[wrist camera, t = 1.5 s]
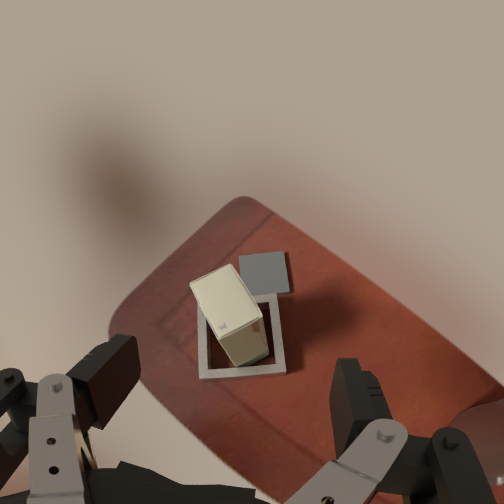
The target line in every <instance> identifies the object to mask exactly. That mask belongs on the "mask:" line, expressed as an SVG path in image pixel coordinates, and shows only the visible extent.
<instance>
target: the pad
mask: <svg viewBox="0 0 504 504" xmlns="http://www.w3.org/2000/svg"><path fill="white" fill-rule="evenodd" d="M239 265H240V278H241V279H242V281H243V282H244V284H245V286H246V287H247V289H248V290H249V292H250V294H251V295H252V296H255V295H264V294H273V293H277V295H281V294H289V293H290V289H289V282H288V276H287V269H286V263H285V257H284V251H279V252H270V253H261V254H252V255H243V256H239Z"/></svg>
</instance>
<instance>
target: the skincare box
mask: <svg viewBox="0 0 504 504" xmlns="http://www.w3.org/2000/svg"><path fill="white" fill-rule="evenodd" d="M190 287H191V289H192V291H193V293H194V295H195V297H196V299H197V301H198V303H199V305H200V307H201V309H202V311H203V313H204V315H205V317H206V319H207V321H208V323H209V325H210V326H211V328H212V330H213V332H214V334H215V336H216V338H217V339H218V341H219V343H220V344H221V346H222V347H223V349H224V350H225V352H226V353H227V355H228V356H229V358H230V359H231V361H232V362H233V364H234V365H235V367H236V368H239V367H247V366H249V365H251V364H253V363H255V362H257V361H259V360H260V359H262V358H264V357H265V356H267V355H269V350H268V344H267V339H266V333H265V328H264V322H263V315H262V313H261V311H260V309H259V307H258V305H257V304H256V302H255V300H254V298H253V297H252V295H251V294H250V292H249V290H248V289H247V287H246V286H245V284H244V282H243V281H242V279H241V278H240V276H239V275H238V273H237V272H236V270H235V269H234V268H233V266H232V265H231V264H228V265H226V266H224V267H222V268H219V269H217V270H215V271H213V272H211V273H209V274H207V275H204V276H202V277H200V278H198V279H196V280H194V281H192V282H191V283H190Z"/></svg>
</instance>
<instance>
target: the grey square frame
mask: <svg viewBox="0 0 504 504" xmlns="http://www.w3.org/2000/svg"><path fill="white" fill-rule="evenodd" d="M252 297H253V298H254V300H255V302H256V304H257V305H258V307H259V309H260V310H263V309H270V317H271V326H272V335H273V344H274V353H275V362H276V364H271V365H261V366H251V367H239V368H226V369H212V368H211V345H210V325H209V323H208V321H207V319H206V317H205V315H204V313H203V311H202V309H201V307H200V305H199V303H198V355H199V379H200V380H202V381H203V382H210V381H227V380H240V379H252V378H263V377H272V376H281V375H286V365H285V357H284V349H283V340H282V332H281V324H280V316H279V309H278V301H277V293H273V294H264V295H255V296H252Z"/></svg>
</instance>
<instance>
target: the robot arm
mask: <svg viewBox="0 0 504 504" xmlns="http://www.w3.org/2000/svg"><path fill="white" fill-rule="evenodd" d="M140 373H141V367H140V360H139V353H138V346H137V340H136V338H135V337H134V336H130V335H125V334H120V333H117V334H116V335H115V336H113V337H112V338H111V339H110V340H109V341H108V342H105V343H103V344H100V345H98V346H96V347H95V348H94V349H93V350H91V351H90V352H89V354H87V355H86V356H85V357H84V358H83V359H82V360H81V361H79V362H78V363H77V364H76V365H75V366H74V367H73V368H72V369H71V370H70V371H69V372H68V373H67V374H66V375H63V374H51V375H48V376H46V377H44V378H43V379H42V380H40V382H39V383H33V382H26V381H25V379H24V376H23V374H22V372H21V371H20V370H18V369H15V368H7V369H4V370H1V371H0V417H1V416H2V415H3V414H4V413H5V412H6V411H7V413H8V415H9V417H10V419H11V421H10V423H9V424H8V425H7V426H6V427H5V428H4V429H3V430H2V431H1V432H0V490H1V489H2V488H3V486H4V485H5V484H6V482H7V481H8V479H9V478H10V477H11V475H12V474H13V473H14V471H15V470H16V469H17V467H18V466H19V465H20V463H21V462H22V461H23V460H24V458H25V457H26V456H27V454H28V453H29V477H30V490H27V491H24V492H20V493H16V494H12V495H8V496H4V497H0V504H270V503H268V502H265V501H263V500H260V499H257V498H255V491H256V489H250V488H241V487H233V486H225V485H182V484H179V483H177V482H175V481H172V480H170V479H168V478H166V477H164V476H162V475H160V474H158V473H156V472H154V471H152V470H150V469H146V468H143V467H139V466H136V465H133V464H129V463H126V462H123V461H120V463H119V465H118V467H117V468H116V469H115V468H102V469H101V468H100V469H98V467H97V463H96V459H95V455H94V450H93V445H92V441H91V436H90V433H89V429H90V427H91V426H93V427H95V428H98V429H101V430H103V429H104V427H105V426H106V424H107V423H108V422H109V421H110V419H111V418H112V416H113V415H114V414H115V412H116V411H117V409H118V408H119V407H120V405H121V404H122V403H123V401H124V400H125V399H126V397H127V396H128V394H129V393H130V392H131V390H132V389H133V388H134V386H135V385H136V383H137V382H138V380H139V378H140ZM330 411H331V418H332V426H333V434H334V442H335V450H336V459H337V461H335V460H330V461H329V462H328V463H327V464H325V465H324V466H323V467H322V469H321V470H320V471H319V472H317V473H316V474H315V475H314V476H313V477H312V478H311V479H310V480H309V481H308V482H307V483H306V484H305V485H304V486H303V487H302V488H301V489H300V490H299V491H297V492H296V493H295V494H294V495H293V496H292V497H291V498H290V499H289V500H287V501H286V502H285V503H284V504H370V503H371V501H372V500H373V499H374V497H375V496H376V494H377V493H378V492H384V493H391V494H398V495H402V497H403V503H404V504H497V503H496V500H495V498H494V495H493V493H492V490H491V488H490V485H496V486H499V485H502V484H503V483H504V399H501V400H498V401H494V402H491V403H487V404H483V405H478V406H475V407H472V408H469V409H466V410H465V411H463V412H461V413H460V414H459V415H458V416H456V418H455V419H454V420H453V421H452V423H451V424H450V426H449V427H445V428H441V429H439V430H437V431H436V432H435V433H434V434H433V436H432V438H426V437H418V436H412V435H409V434H408V433H407V430H406V428H405V427H404V426H403V425H402V424H400V423H399V422H397V421H394V420H393V418H392V416H391V413H390V410H389V408H388V405H387V402H386V400H385V397H384V396H383V392H382V389H381V386H380V384H379V381H378V379H377V378H376V377H375V376H374V375H373V374H372V373H371V372H370V371H362V370H361V367H360V364H359V362H358V359H357V358H338V359H337V362H336V366H335V371H334V376H333V381H332V386H331V390H330Z"/></svg>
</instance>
